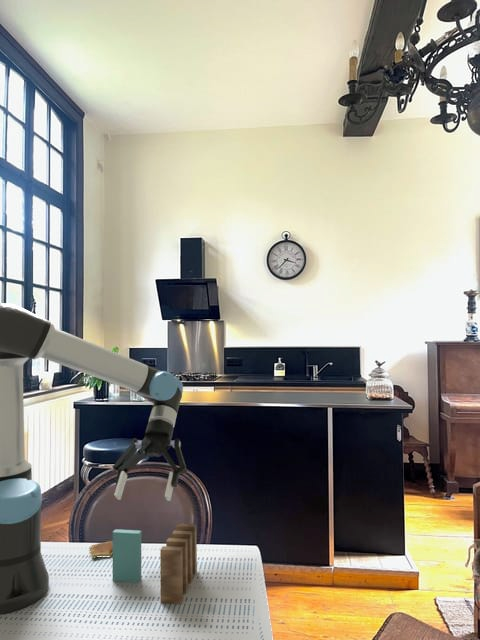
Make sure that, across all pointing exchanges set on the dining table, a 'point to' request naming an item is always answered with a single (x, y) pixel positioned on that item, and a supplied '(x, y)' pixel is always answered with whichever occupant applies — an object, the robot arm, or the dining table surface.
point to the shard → (102, 549)
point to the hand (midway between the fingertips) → (142, 498)
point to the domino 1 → (127, 555)
